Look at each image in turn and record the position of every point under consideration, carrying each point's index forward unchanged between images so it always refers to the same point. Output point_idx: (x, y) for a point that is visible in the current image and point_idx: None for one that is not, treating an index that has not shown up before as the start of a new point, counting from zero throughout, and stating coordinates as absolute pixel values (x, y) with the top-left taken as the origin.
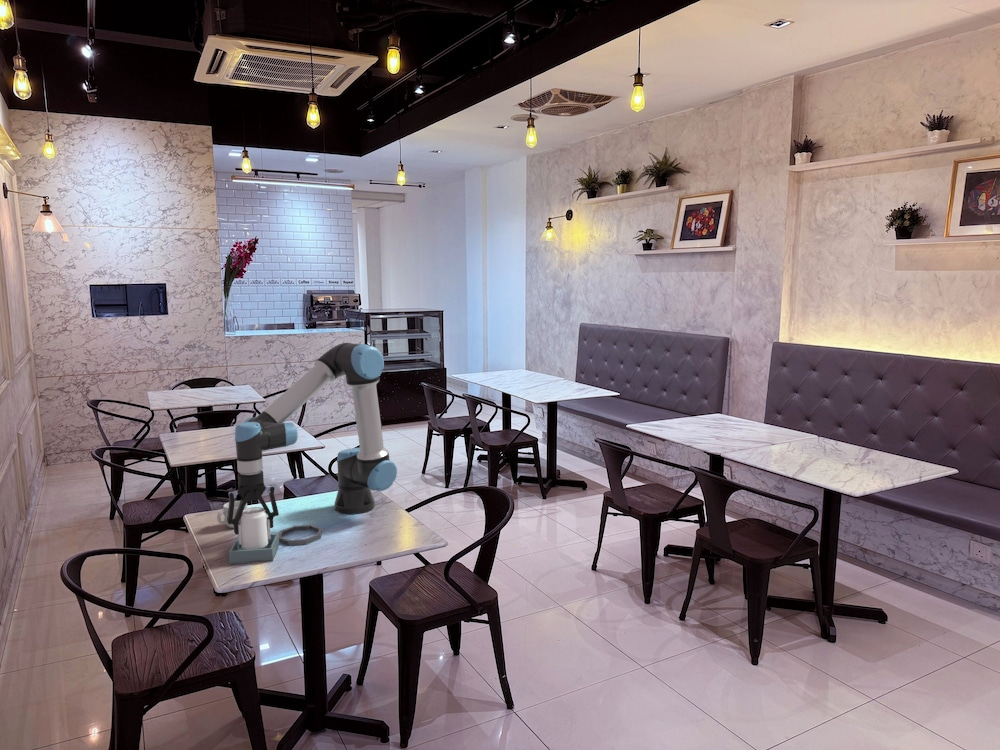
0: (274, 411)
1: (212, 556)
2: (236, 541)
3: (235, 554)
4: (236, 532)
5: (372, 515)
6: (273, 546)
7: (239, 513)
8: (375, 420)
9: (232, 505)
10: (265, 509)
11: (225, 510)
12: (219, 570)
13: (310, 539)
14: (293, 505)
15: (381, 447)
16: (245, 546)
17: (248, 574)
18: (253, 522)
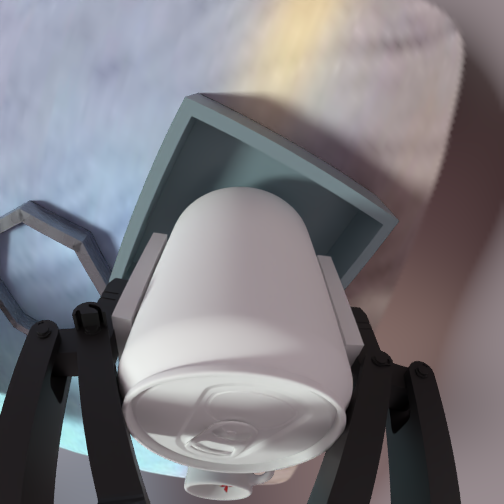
0: None
1: (379, 305)
2: None
3: (368, 197)
4: (357, 315)
5: None
6: (163, 141)
7: (373, 428)
8: None
9: (444, 496)
10: (111, 405)
11: (251, 482)
12: (428, 162)
13: (10, 213)
14: (79, 440)
15: None
16: (306, 231)
17: (354, 24)
18: (274, 297)
